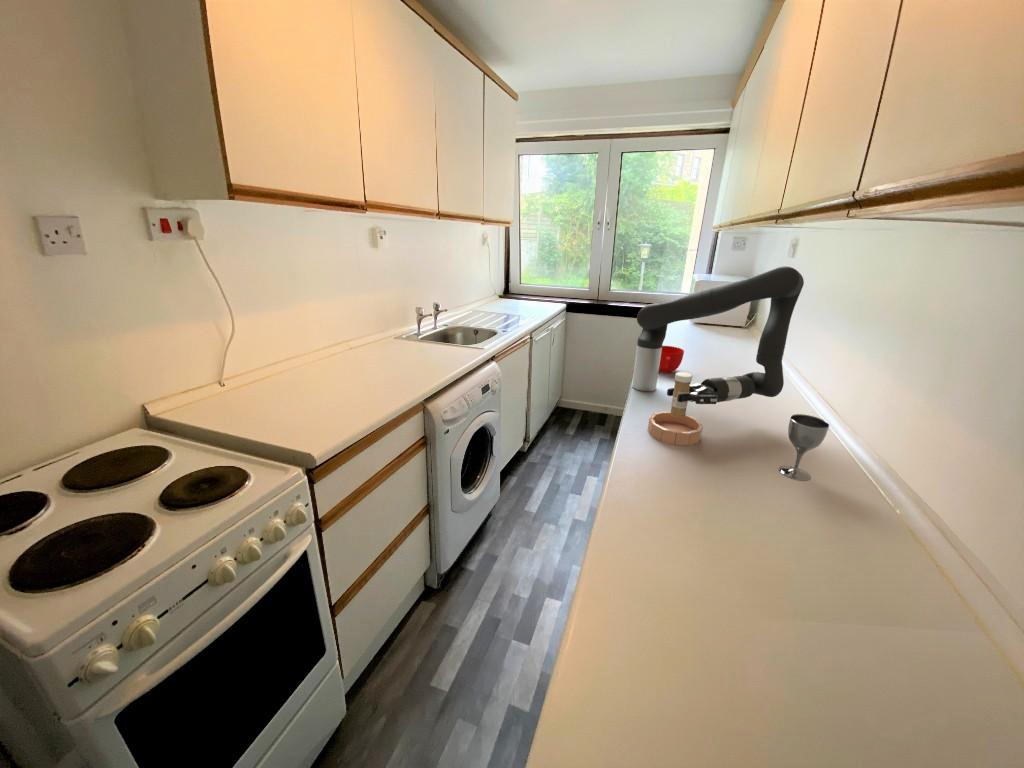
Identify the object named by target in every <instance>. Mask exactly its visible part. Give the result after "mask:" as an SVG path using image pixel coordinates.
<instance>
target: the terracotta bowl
mask: <svg viewBox="0 0 1024 768" xmlns="http://www.w3.org/2000/svg"><path fill="white" fill-rule="evenodd" d="M670 412H671V411H659V412H655V413H652V414H651V415H650V416H649V418H648V425H647V431H648V433H649V435H650V436H651V437H653V438H654V439H656V440H658V441H659V442H662V443H666V444H668V445H669V444H670V445H674V446H685V445H688V446H692V445H695V444H694V443H696V444H698V443H699V442H700V440H701V439H700V438H702V435H703V429H704V428H703V427H704V425H703V423H702V422H701V421H700V420H699V419H697V418H695V417H694V416H691V415H688V414H686V416H685V417H684V418H675V417H672V416H671V415H670ZM697 442H698V443H697ZM691 444H692V445H691Z"/></svg>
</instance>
